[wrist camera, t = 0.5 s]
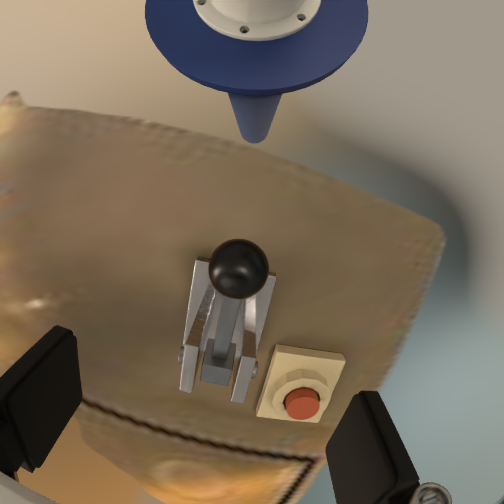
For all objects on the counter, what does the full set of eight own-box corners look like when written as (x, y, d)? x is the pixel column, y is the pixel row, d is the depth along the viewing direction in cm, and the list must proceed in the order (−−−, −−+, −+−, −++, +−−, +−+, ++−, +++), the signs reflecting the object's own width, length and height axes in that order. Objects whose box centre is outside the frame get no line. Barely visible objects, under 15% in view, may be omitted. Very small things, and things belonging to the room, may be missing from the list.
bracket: (197, 256, 31) (167, 303, 20) (275, 272, 32) (287, 328, 20) (184, 340, 34) (158, 410, 22) (254, 355, 34) (255, 429, 22)
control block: (276, 343, 34) (278, 361, 30) (342, 353, 34) (350, 370, 31) (256, 407, 36) (256, 426, 33) (316, 414, 36) (320, 432, 33)
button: (290, 385, 31) (292, 395, 30) (321, 388, 32) (324, 398, 30) (281, 408, 32) (282, 418, 31) (311, 411, 32) (313, 421, 31)
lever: (218, 221, 17) (205, 259, 14) (276, 233, 17) (273, 274, 14) (200, 350, 25) (192, 383, 22) (238, 358, 25) (233, 391, 23)
